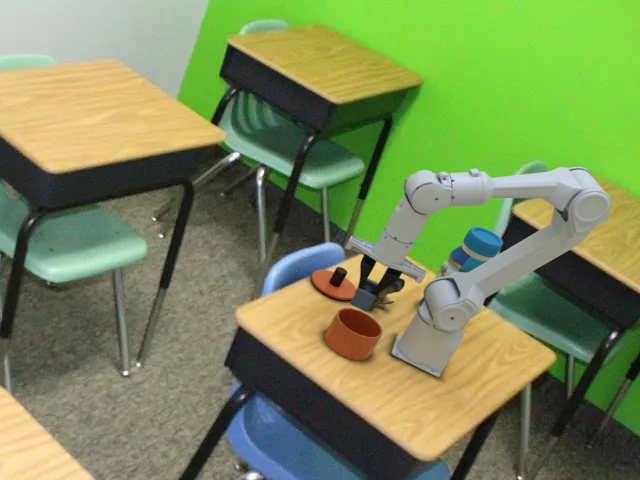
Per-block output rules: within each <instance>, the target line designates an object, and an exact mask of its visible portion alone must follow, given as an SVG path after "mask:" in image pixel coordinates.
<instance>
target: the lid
mask: <svg viewBox="0 0 640 480" xmlns="http://www.w3.org/2000/svg"><path fill="white" fill-rule="evenodd" d="M347 275H348V270H347V269H346V268H344V267H341V266H337V267H335V269H334V271H331V270H327V269H317V270H315V271H314V272H312V274H311V281H312V284H314V286H315V287H316V288H317V289H318V290H319V291H321V292H322V293H324V294H326V295H327V296H330V297H331V298H335V299H337V300H343V301H351V300H352V298H353V296H354V295H355V292H356V290H357V287H356V286H355V285H354V283H353V282H351V280H349V279H348V278H347Z"/></svg>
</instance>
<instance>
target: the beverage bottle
mask: <svg viewBox="0 0 640 480" xmlns="http://www.w3.org/2000/svg"><path fill="white" fill-rule="evenodd" d="M503 245H504V241H503V240H502V238H501V237H500V236H499V235H498V234H496V233H495V232H493V231H491V230H489V229H487V228H486V227H485V228H484V227H481V226H472V227H471V228H470V229H469V230H468V231H467V233H466V235H465V236H464V238H463V240H462V245H458V247H456V248H454V249H453V250H451V251H450V253H449V255H448V259H446V260H445V261H443V263H442V264H441V265H440V269H439V271H438V272H437V273H436V276H434V279H436V278H440V277H445V276H448V275H450V274H452V273H454V272H465V273H468V272H470V271H472V270H473V269H475V268H477V267H478V266H480V265H482V264H484V263H485V262H487V261H489V260H490V259H492V258H494V257H495V256H497V255H498V253H499V252H500V251H501V249H502V247H503ZM422 296H423V297H422V298H421V299H420V301H419V302H418V309H419V308H420V307H421V305H422V303H423V302H424V300H425V298H424V295H422Z"/></svg>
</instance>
